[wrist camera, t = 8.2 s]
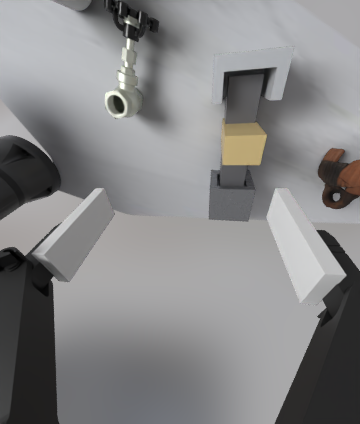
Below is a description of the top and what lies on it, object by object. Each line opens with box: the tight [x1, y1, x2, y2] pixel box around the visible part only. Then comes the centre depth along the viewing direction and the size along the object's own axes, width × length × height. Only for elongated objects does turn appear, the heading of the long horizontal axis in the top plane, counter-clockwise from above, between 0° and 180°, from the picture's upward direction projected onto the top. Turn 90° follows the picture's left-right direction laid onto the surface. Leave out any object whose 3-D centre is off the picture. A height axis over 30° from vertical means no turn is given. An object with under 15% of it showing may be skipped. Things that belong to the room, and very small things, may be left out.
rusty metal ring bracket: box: [318, 148, 360, 209], centre depth 29 cm, size 12×10×8 cm
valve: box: [104, 0, 159, 119], centre depth 24 cm, size 7×7×12 cm
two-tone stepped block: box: [219, 74, 267, 187], centre depth 25 cm, size 4×17×10 cm, turn 4°
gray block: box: [209, 170, 256, 221], centre depth 34 cm, size 7×7×7 cm
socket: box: [212, 46, 295, 104], centre depth 22 cm, size 8×4×8 cm, turn 94°
